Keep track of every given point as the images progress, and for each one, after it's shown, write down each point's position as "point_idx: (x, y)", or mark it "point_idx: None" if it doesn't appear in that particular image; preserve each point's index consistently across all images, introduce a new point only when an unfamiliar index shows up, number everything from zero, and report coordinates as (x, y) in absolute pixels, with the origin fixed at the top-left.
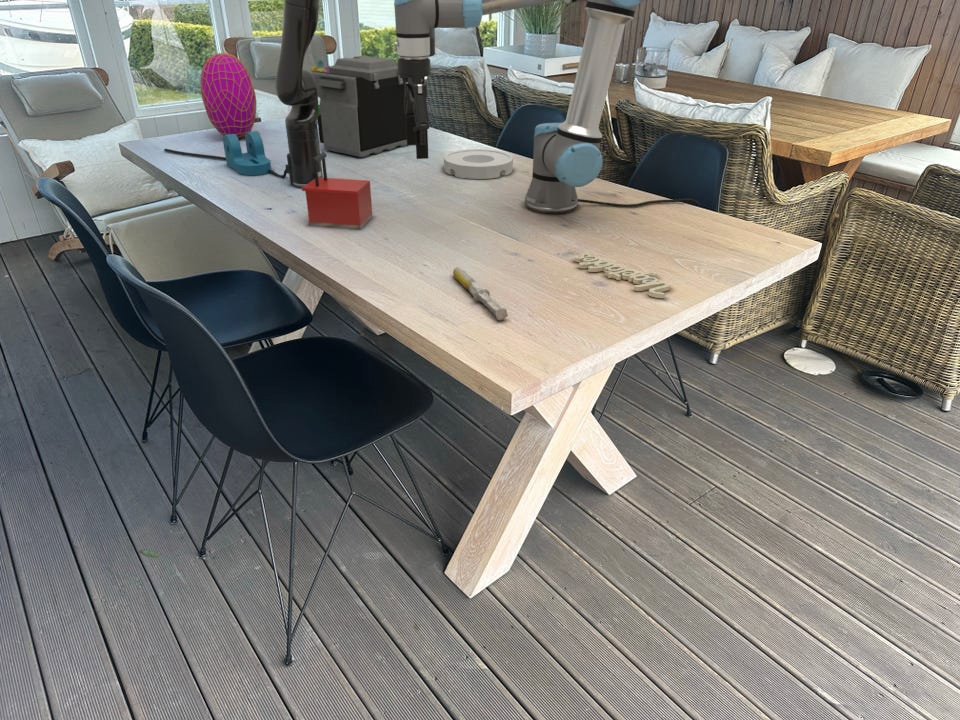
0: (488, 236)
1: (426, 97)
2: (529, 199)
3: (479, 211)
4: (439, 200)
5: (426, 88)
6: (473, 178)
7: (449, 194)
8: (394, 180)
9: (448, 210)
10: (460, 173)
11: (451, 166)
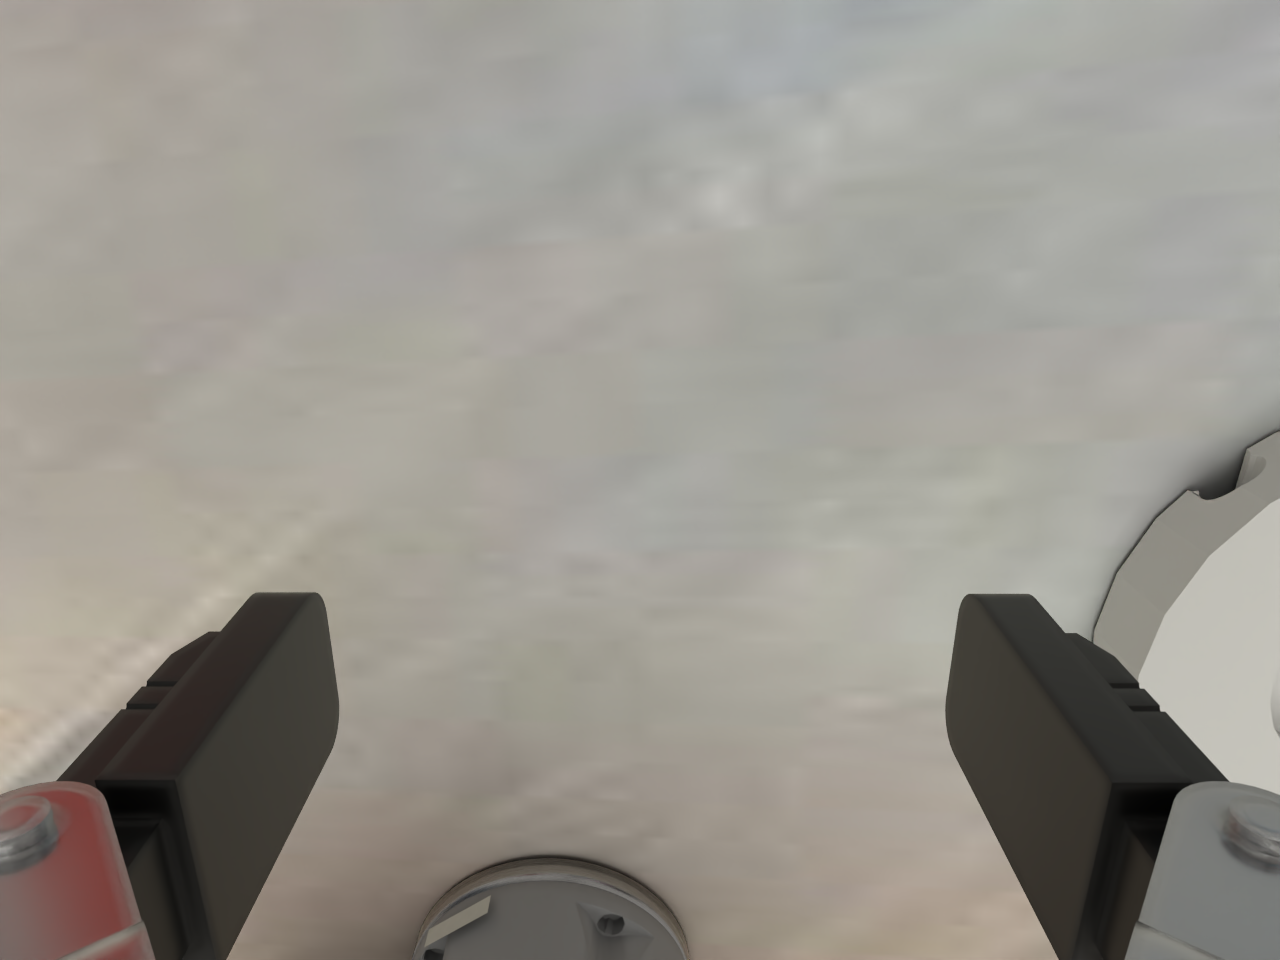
0: (20, 675)
1: (948, 733)
2: (467, 914)
3: (428, 636)
4: (632, 399)
5: (1022, 878)
6: (1104, 609)
7: (767, 460)
8: (1176, 6)
9: (427, 463)
10: (1166, 537)
11: (1262, 487)
